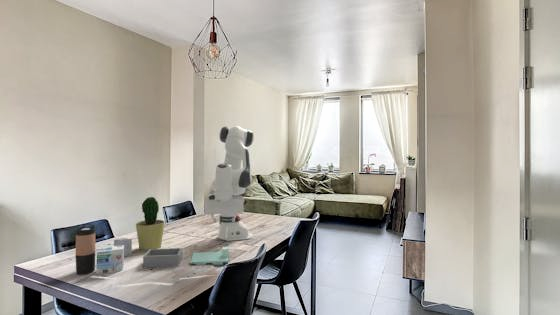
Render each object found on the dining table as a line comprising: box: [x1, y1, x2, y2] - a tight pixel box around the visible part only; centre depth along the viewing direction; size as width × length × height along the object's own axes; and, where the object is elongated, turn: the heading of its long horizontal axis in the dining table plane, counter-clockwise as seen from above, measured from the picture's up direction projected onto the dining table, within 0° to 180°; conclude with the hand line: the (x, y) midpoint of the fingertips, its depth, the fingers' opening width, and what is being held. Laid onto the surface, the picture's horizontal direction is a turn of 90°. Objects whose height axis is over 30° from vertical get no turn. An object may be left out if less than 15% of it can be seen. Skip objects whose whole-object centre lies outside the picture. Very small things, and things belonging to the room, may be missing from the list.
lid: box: [189, 246, 229, 266], centre depth 154 cm, size 18×14×6 cm
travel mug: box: [75, 226, 96, 276], centre depth 138 cm, size 8×8×20 cm
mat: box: [213, 253, 230, 267], centre depth 154 cm, size 19×15×1 cm
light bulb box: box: [95, 245, 125, 275], centre depth 139 cm, size 11×7×11 cm, turn 114°
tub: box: [142, 247, 183, 269], centre depth 148 cm, size 16×11×6 cm
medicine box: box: [113, 237, 133, 258], centre depth 160 cm, size 8×4×9 cm, turn 71°
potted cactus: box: [135, 196, 165, 251], centre depth 173 cm, size 15×15×30 cm
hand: (224, 222), depth 155 cm, fingers open, 8 cm apart
